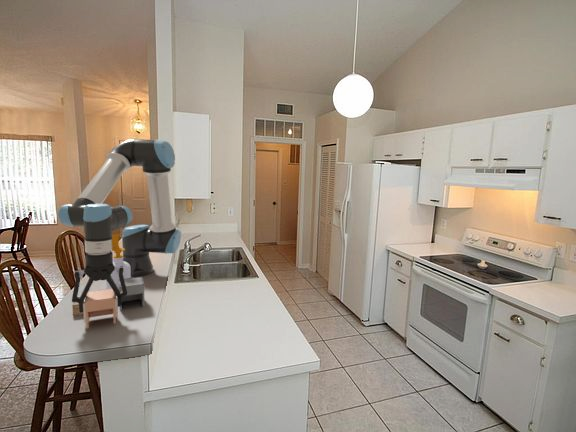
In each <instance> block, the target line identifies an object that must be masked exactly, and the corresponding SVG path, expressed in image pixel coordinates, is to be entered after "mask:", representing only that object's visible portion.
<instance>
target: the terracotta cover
mask: <svg viewBox="0 0 576 432" xmlns="http://www.w3.org/2000/svg"><path fill="white" fill-rule="evenodd" d="M115 296H116V294H115V293H114V291H113V289H107V290H106V289H99V290H92V291H91V290H89V291H88V293H87V295H86V297H85V316H86V322H85V329H89V327H90V319H91V318H96V317H102V316H108V315H113V324H116V322H117V321H116V318H117V317H116V313H115Z"/></svg>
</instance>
